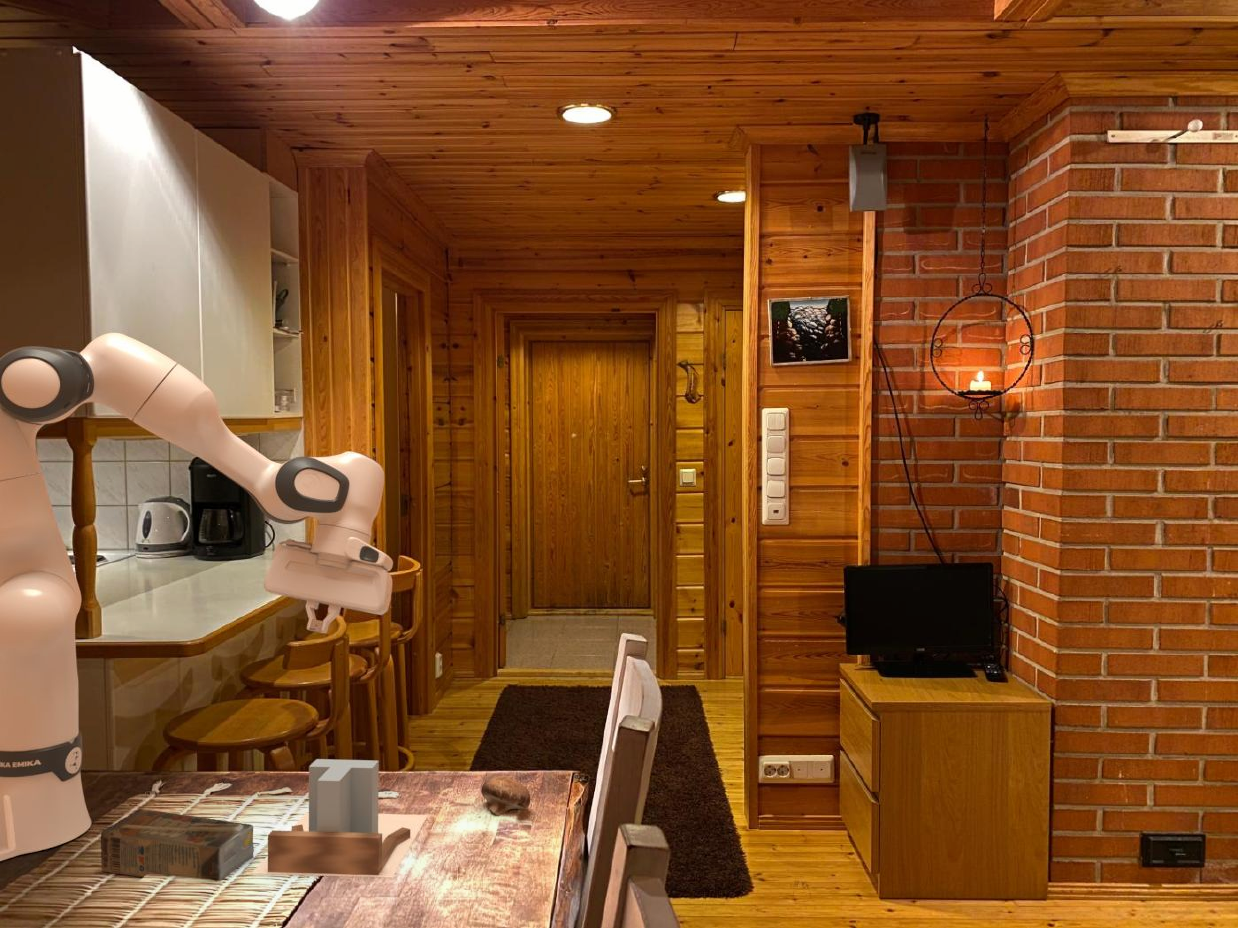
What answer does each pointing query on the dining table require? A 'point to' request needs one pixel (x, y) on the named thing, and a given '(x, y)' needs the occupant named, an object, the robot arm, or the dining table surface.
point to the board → (386, 827)
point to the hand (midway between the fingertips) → (316, 631)
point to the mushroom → (505, 795)
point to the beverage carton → (175, 845)
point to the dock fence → (331, 851)
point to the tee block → (343, 796)
